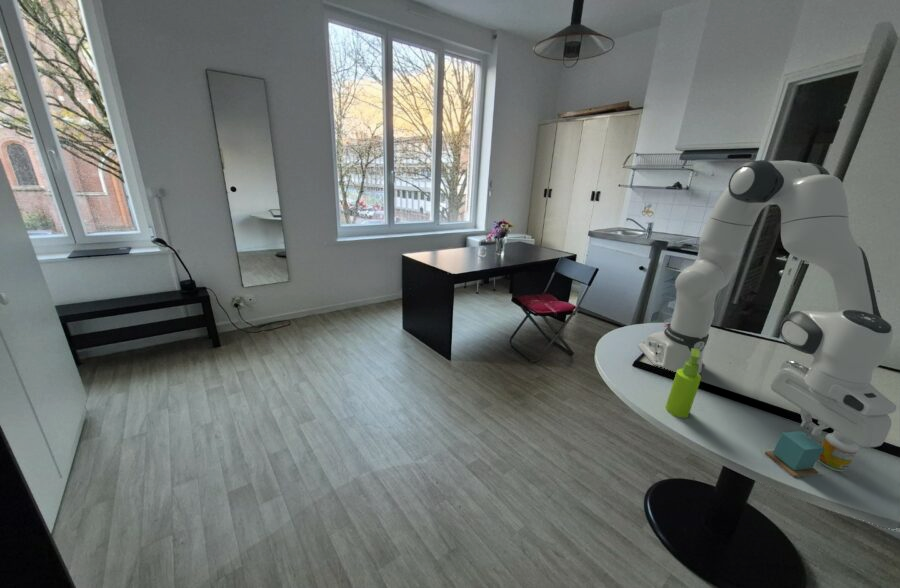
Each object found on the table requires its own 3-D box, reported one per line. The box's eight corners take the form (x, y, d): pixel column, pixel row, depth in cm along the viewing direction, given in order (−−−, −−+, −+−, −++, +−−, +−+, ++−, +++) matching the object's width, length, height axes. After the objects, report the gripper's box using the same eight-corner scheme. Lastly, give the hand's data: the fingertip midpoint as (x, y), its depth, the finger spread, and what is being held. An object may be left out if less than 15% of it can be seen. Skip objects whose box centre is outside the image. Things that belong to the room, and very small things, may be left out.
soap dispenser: (689, 406, 103) (708, 350, 96) (688, 420, 98) (708, 362, 90) (666, 399, 106) (683, 344, 99) (664, 412, 101) (682, 355, 93)
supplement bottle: (813, 450, 88) (829, 421, 84) (843, 461, 85) (861, 431, 81) (816, 464, 84) (833, 434, 81) (847, 476, 81) (866, 445, 77)
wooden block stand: (764, 453, 87) (774, 432, 85) (788, 450, 88) (799, 430, 85) (792, 477, 81) (804, 455, 78) (818, 474, 82) (831, 452, 79)
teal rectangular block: (772, 452, 86) (782, 433, 84) (790, 450, 87) (800, 431, 84) (793, 470, 81) (805, 449, 79) (812, 468, 82) (824, 447, 79)
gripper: (774, 357, 84) (755, 402, 89) (881, 415, 65) (849, 468, 71) (796, 356, 85) (776, 400, 90) (908, 412, 66) (875, 464, 71)
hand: (809, 430), depth 80 cm, fingers closed
